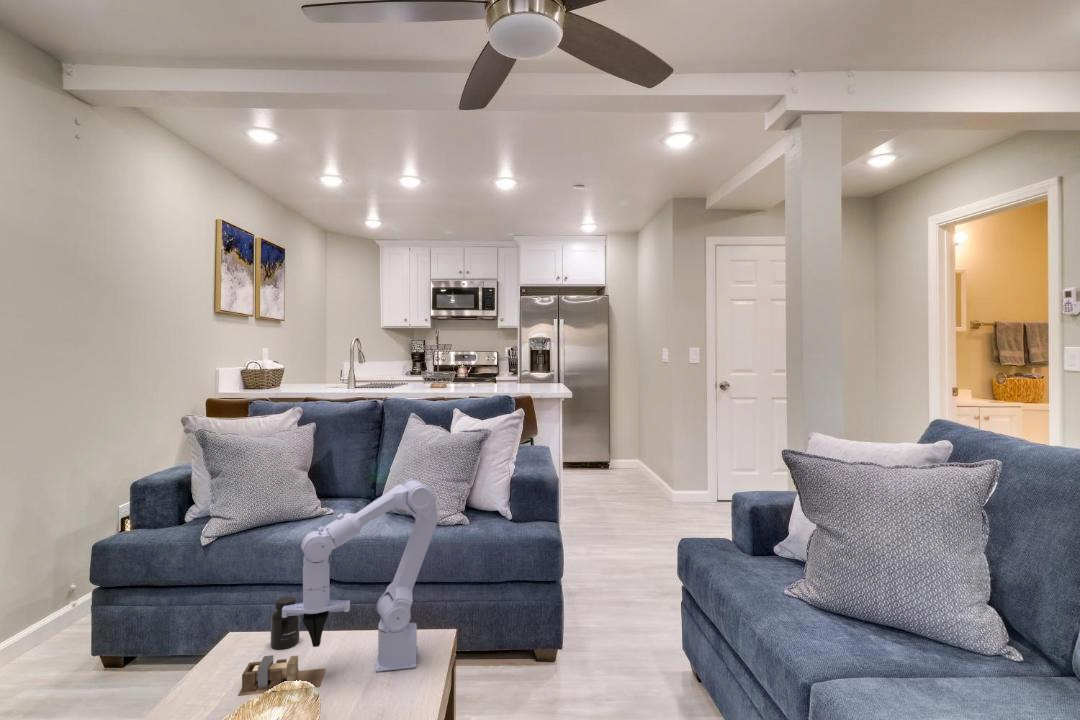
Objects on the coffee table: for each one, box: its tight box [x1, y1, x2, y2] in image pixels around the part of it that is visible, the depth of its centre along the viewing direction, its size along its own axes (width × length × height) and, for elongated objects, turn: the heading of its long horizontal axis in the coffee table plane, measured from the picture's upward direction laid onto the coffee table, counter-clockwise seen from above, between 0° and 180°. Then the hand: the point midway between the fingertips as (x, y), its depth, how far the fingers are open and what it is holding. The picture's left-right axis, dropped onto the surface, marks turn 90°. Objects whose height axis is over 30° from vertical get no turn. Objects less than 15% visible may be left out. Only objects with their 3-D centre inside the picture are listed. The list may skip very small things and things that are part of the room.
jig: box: [237, 658, 327, 697], centre depth 128 cm, size 17×8×5 cm, turn 102°
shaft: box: [253, 655, 299, 681], centre depth 128 cm, size 9×4×4 cm, turn 102°
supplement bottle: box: [270, 596, 301, 651], centre depth 146 cm, size 7×7×12 cm
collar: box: [258, 654, 275, 690], centre depth 128 cm, size 2×5×5 cm, turn 12°
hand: (316, 644), depth 130 cm, fingers closed
